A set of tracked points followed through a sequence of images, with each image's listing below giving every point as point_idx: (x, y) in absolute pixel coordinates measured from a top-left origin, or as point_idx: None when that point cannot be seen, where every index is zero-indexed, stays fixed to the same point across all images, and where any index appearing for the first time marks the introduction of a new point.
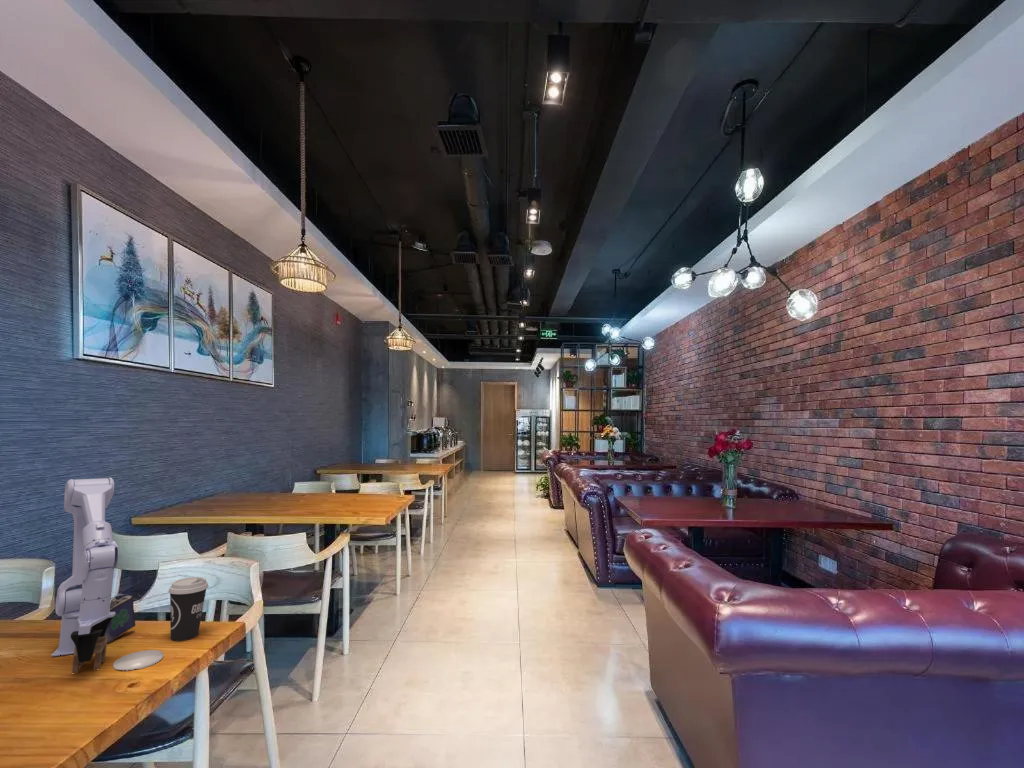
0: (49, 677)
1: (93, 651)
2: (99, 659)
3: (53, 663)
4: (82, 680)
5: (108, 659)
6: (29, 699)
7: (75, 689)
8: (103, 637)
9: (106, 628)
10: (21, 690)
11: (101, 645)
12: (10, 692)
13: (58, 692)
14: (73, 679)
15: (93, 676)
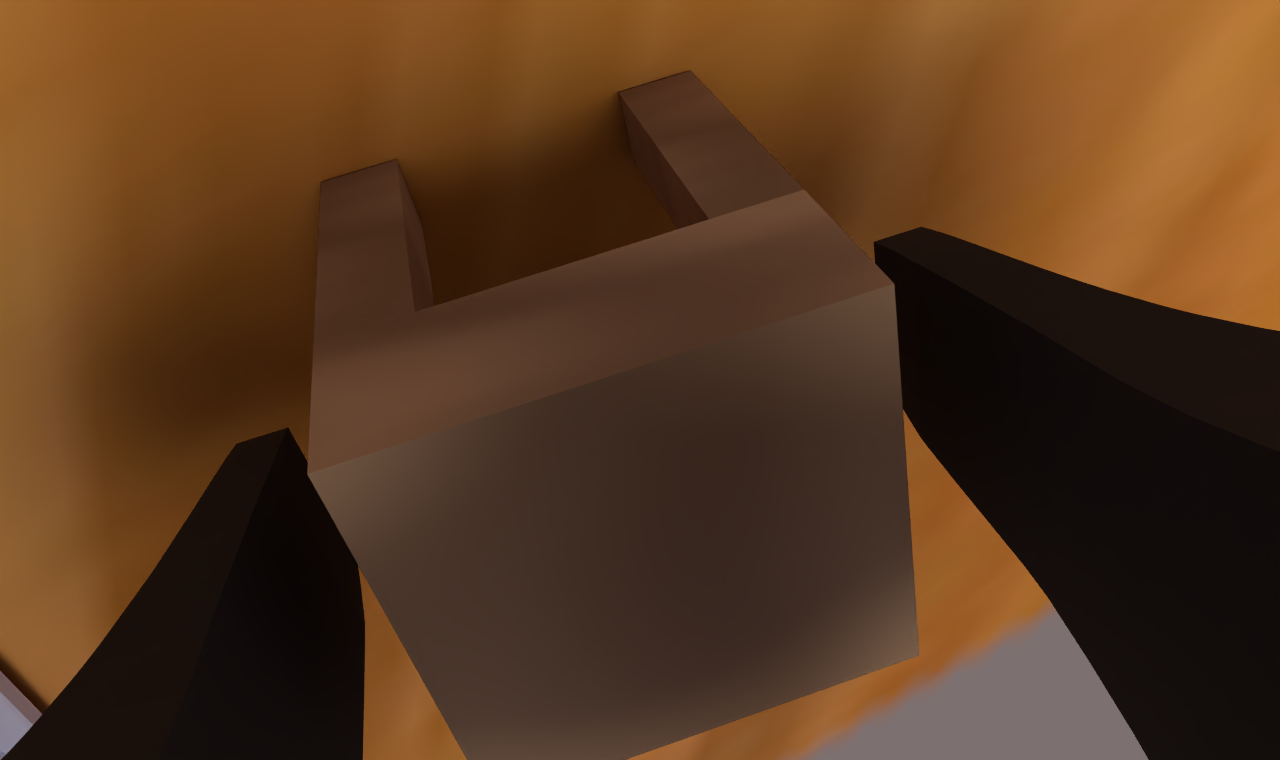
0: None
1: (1007, 278)
2: (750, 141)
3: (365, 746)
4: (1000, 105)
5: (236, 163)
6: None
7: (1262, 29)
8: (420, 500)
9: (162, 721)
10: (1001, 576)
11: (849, 267)
12: (1006, 627)
13: (1239, 197)
14: None
15: (914, 16)
